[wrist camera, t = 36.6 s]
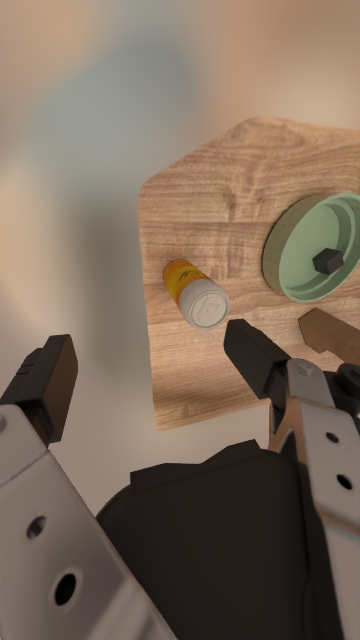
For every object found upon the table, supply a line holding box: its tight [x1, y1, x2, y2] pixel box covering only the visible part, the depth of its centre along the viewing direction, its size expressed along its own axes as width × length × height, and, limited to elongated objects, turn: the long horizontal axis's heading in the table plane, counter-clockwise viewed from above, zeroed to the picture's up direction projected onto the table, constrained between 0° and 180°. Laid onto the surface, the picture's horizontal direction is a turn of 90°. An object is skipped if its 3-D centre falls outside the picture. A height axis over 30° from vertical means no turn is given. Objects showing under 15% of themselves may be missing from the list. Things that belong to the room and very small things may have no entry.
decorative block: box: [299, 308, 360, 366], centre depth 45 cm, size 11×6×20 cm, turn 32°
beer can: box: [163, 260, 230, 330], centre depth 30 cm, size 6×6×15 cm
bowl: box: [263, 193, 360, 303], centre depth 38 cm, size 19×19×6 cm
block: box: [312, 248, 344, 275], centre depth 41 cm, size 4×4×4 cm
